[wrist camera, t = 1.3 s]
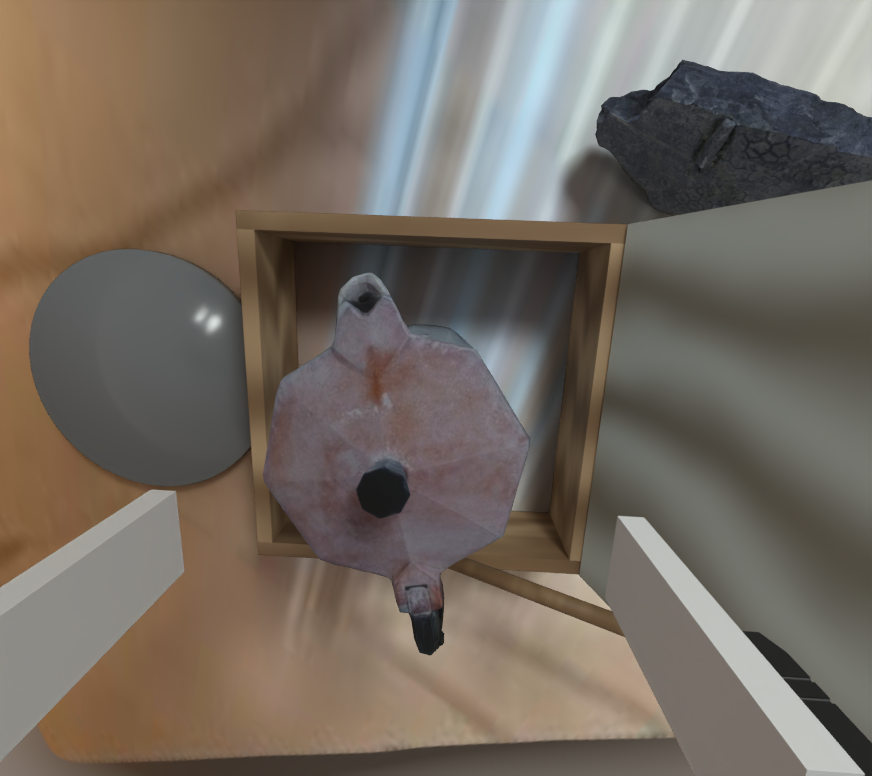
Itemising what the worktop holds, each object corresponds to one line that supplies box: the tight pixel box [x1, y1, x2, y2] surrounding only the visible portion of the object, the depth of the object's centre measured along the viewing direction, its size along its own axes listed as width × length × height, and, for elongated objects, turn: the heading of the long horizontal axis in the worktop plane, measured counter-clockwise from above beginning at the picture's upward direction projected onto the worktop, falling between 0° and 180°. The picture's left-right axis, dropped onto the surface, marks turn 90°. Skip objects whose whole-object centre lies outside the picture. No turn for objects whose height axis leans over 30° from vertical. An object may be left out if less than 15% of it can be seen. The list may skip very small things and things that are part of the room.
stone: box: [596, 60, 872, 215], centre depth 23 cm, size 14×6×10 cm, turn 78°
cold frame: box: [236, 180, 872, 743], centre depth 18 cm, size 22×30×27 cm
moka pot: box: [263, 272, 530, 655], centre depth 22 cm, size 10×15×20 cm, turn 14°
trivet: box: [29, 249, 251, 486], centre depth 31 cm, size 18×18×1 cm
